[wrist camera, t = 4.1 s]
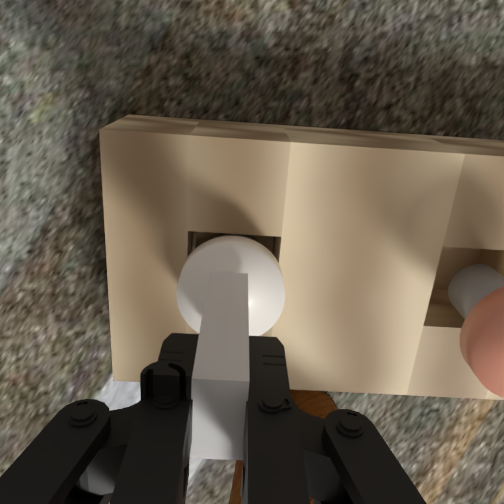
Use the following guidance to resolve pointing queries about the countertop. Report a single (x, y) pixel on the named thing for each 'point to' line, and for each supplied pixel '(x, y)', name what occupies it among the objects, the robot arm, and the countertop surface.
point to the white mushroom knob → (234, 261)
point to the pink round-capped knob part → (481, 322)
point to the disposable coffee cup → (307, 402)
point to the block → (307, 242)
